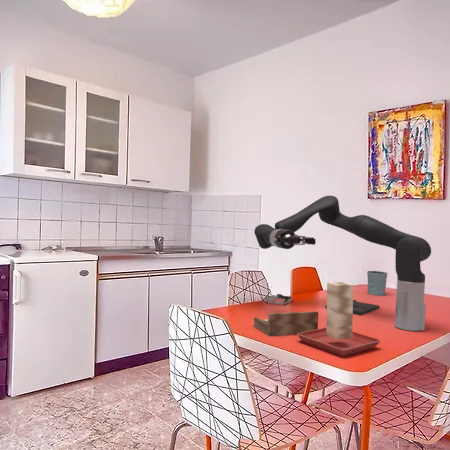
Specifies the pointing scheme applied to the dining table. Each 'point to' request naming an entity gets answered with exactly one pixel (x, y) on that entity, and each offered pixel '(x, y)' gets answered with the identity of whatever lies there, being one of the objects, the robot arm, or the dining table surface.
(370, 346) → the plant saucer
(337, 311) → the birch block
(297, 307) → the dining table surface
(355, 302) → the picture frame
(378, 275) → the grey-blue cup
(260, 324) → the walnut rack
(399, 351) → the dining table surface
